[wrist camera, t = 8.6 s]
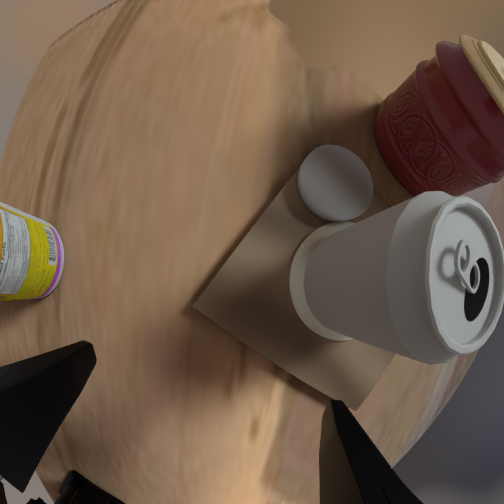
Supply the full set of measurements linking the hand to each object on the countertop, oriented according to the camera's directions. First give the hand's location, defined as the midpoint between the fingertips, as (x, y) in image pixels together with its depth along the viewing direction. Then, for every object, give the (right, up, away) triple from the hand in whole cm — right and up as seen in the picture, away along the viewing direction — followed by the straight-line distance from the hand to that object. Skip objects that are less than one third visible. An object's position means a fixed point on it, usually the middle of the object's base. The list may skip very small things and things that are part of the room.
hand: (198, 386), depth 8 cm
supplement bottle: (-16, +4, +10) cm, 19 cm away
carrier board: (+9, +2, +13) cm, 15 cm away
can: (+9, +2, +11) cm, 14 cm away
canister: (+20, +16, +16) cm, 30 cm away
